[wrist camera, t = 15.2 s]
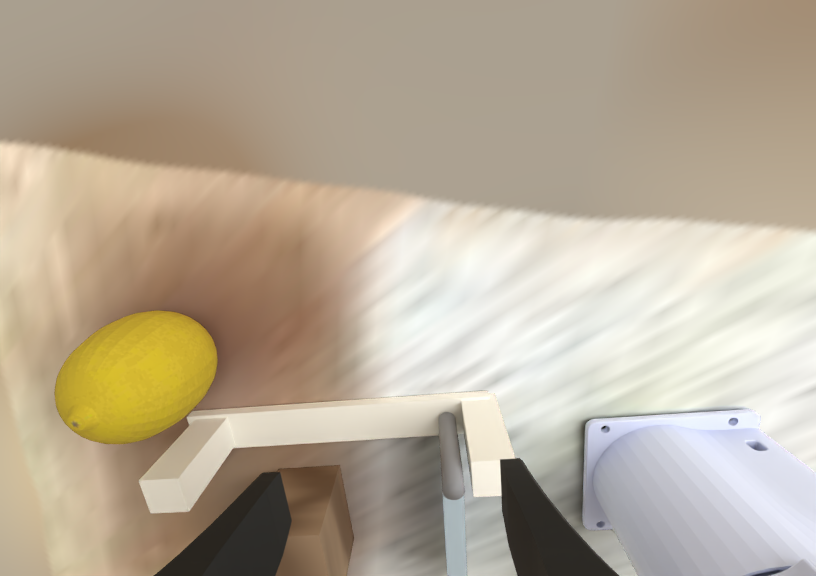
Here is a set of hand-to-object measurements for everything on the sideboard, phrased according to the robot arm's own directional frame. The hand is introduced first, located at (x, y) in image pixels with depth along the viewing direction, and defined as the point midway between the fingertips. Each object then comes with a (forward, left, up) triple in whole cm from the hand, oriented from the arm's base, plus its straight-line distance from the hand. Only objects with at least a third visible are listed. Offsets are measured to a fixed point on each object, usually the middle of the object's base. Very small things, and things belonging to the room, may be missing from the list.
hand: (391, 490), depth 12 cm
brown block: (+7, +11, -10) cm, 16 cm away
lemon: (+12, -2, -10) cm, 16 cm away
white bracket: (+4, +4, -10) cm, 12 cm away
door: (-2, +10, -9) cm, 13 cm away
